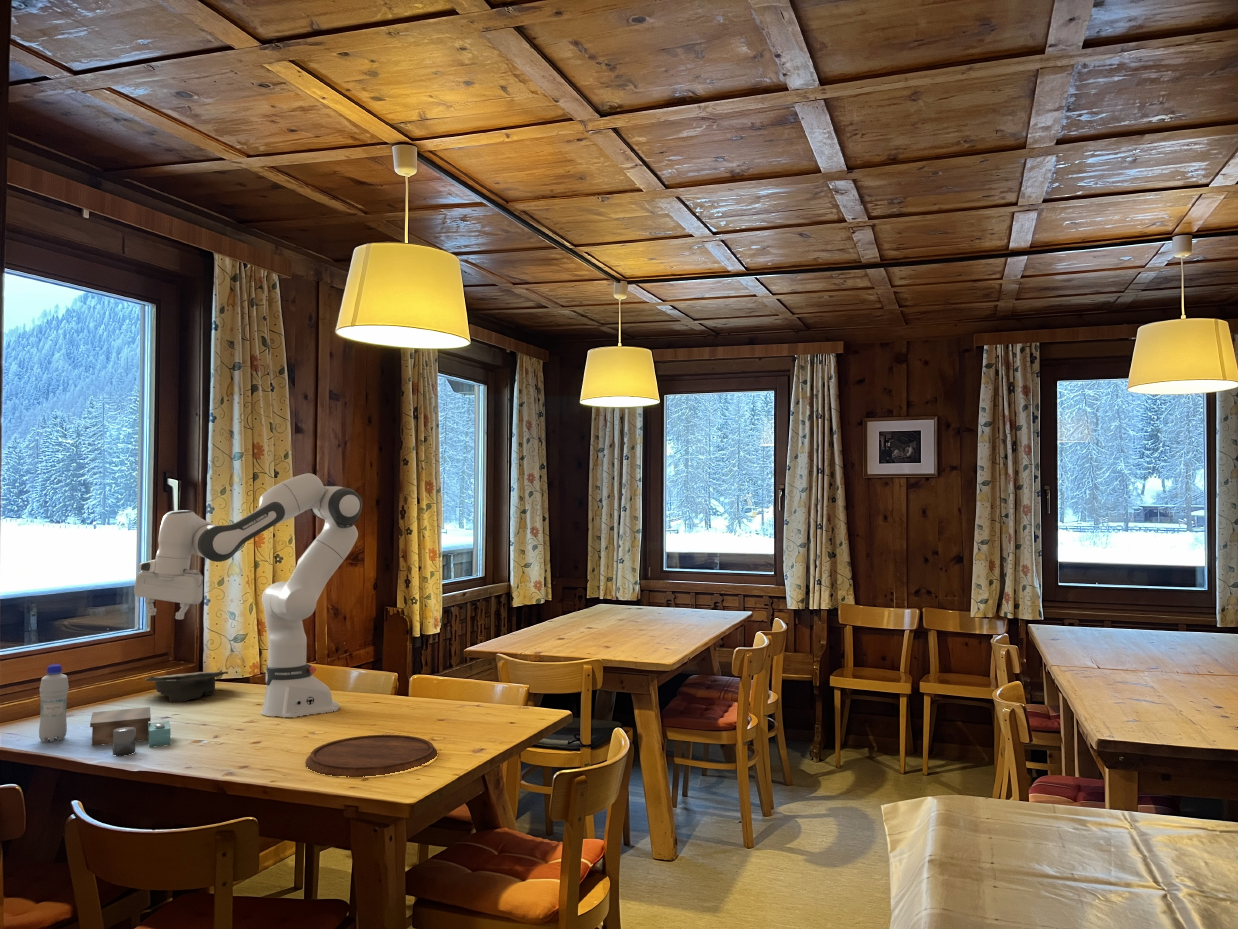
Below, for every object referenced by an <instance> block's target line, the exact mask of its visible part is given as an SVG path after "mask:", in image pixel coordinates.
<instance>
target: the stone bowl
mask: <svg viewBox="0 0 1238 929" xmlns="http://www.w3.org/2000/svg"><path fill="white" fill-rule="evenodd" d="M228 673H229V671H205V672H203V671H198V672H191V673H189V672H188V673H177V674H171V675H168V674H167V675H161V676H150V677H147V678H145V679H144V681H145V682H155V684H154V686H155V690H156V692H157V693H160V694H161V695H163V696H168V700H169V701H170V702H171V703H183V702H185V701H189V700H192V699H199V698H201V697H202V696H207V697H209V696H212V695H214V694H215V691H216V678H217V677H220V676H222V675H225V674H228ZM177 701H179V702H177ZM182 701H183V702H182Z"/></svg>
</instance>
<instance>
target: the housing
mask: <svg viewBox="0 0 1238 929" xmlns="http://www.w3.org/2000/svg"><path fill="white" fill-rule="evenodd" d="M171 729H172V728H171V724H170V721H169V720H168V721H157V722H148V740H147V741H148V744H149V745H148V748H155V747H154V746H158V747H164V745H167V746H171V731H172V730H171Z"/></svg>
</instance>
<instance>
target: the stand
mask: <svg viewBox="0 0 1238 929" xmlns="http://www.w3.org/2000/svg"><path fill="white" fill-rule="evenodd" d="M151 715H152V714H151V707H150V706H145V707H134V708H125V709H124V708H122V709H113V710H103V711H92V713H91V718H90V723H89V728H91V729H92V731H91V736H92V737H91V746H92V747H95V745H97V746H104V745H103V744H106V745H113V731H114V730H115V729H118V728H124V727H134V728H136V741H135V742H140V740H144V741H148V725H149V723H151V719H152V718H151V717H152V716H151Z"/></svg>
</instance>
